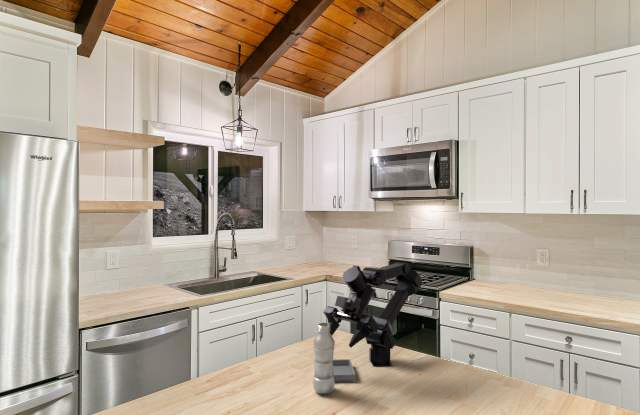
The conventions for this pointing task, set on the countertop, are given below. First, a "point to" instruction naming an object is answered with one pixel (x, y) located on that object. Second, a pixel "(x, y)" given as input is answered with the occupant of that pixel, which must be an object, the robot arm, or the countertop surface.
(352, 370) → the gray tray
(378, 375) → the countertop surface
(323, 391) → the plastic bottle
